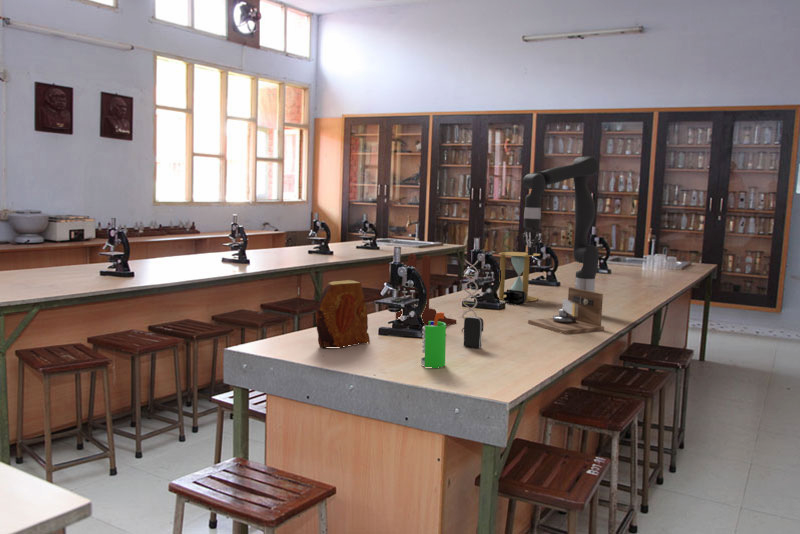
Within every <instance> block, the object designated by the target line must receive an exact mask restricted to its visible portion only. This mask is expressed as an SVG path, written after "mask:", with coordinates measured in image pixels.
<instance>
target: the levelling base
mask: <svg viewBox="0 0 800 534" xmlns="http://www.w3.org/2000/svg"><path fill="white" fill-rule="evenodd" d="M567 295H568V296H567V297H568V298H567V299H568V300H570V301H572V302H574V303H576V304H578V316H577V317H576V322H575V323H560V322H555V321H553V317H549V318H537V319H528V320H527V324H529V325H532V326H535V325H536V326H535V327H539V328H542V327H543V329H545V328H546V329H545V330H549V329H550V331H552V330H554V331H553V332H556V331H558V332H557V333H559V332H561V333H560V334H562V333H564V334H563V335H566V334H565V333H570V334H578V333H577V332H581V333H590V332H589V331H591V332H600V330H602V331H605V326H604V325H603V326H602V315H603V302H604V301H603V298H604V294H603V293H601V292H595V291H594V292H592V291H587V290H582V289H577V288H575V287H568V293H567ZM568 316H572V315H571V314H569V313H568ZM573 317H574V316H573Z"/></svg>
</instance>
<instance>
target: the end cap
mask: <svg viewBox="0 0 800 534" xmlns="http://www.w3.org/2000/svg"><path fill="white" fill-rule="evenodd" d="M504 295H506V297H504V298H503V299H504V300H503V301H504V302H505V303H504V304H506V303H509V304H508V305H514V304H516V305H515V306H522V305H524V303H526V302H525V301H526V293H525V292H524V291H516V290H510V289H506V291H504ZM521 304H522V305H521Z"/></svg>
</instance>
